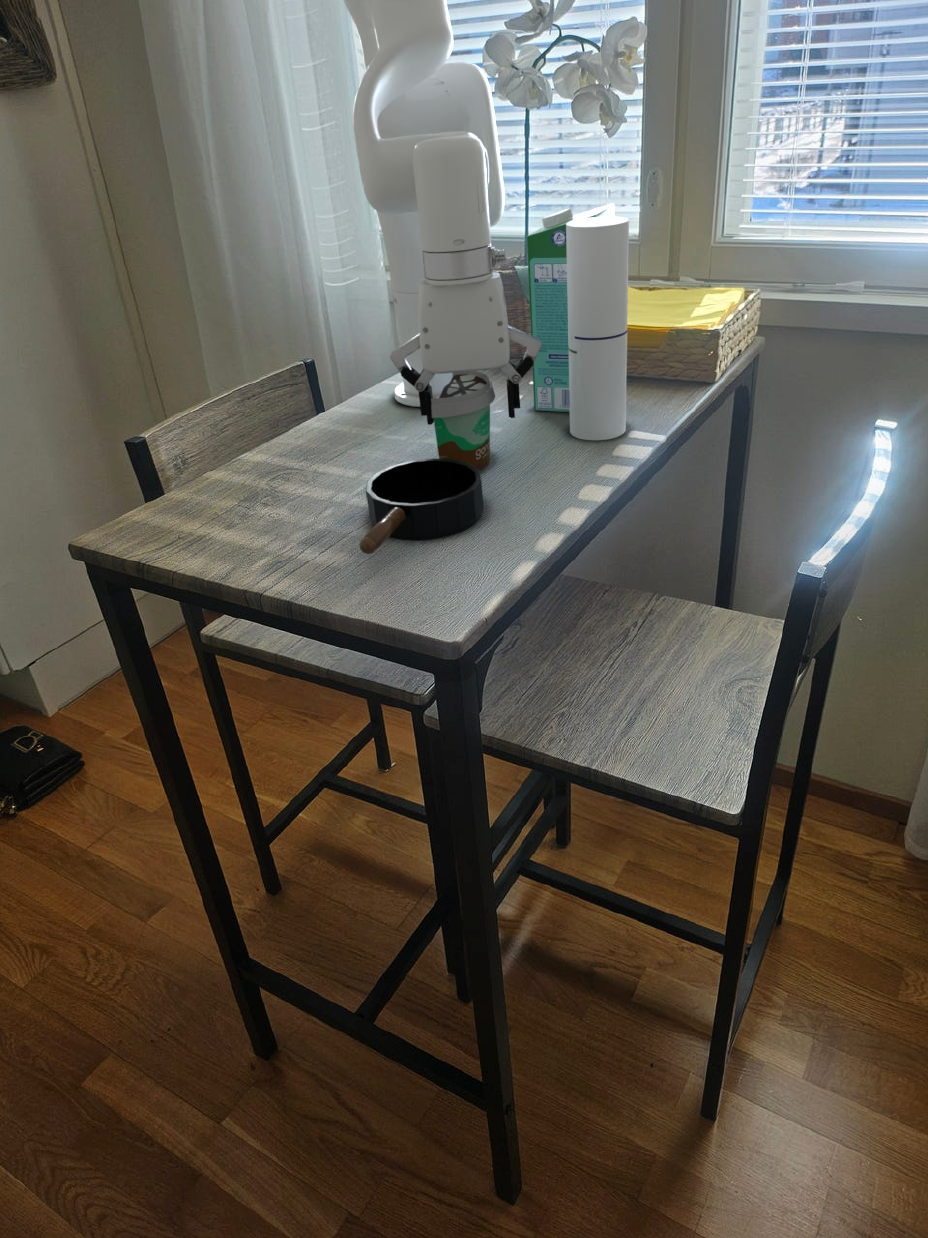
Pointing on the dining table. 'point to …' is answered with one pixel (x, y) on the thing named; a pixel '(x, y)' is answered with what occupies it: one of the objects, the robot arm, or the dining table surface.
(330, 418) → the dining table surface
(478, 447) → the food container
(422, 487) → the pan
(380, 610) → the dining table surface
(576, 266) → the cylindrical container
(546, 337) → the milk carton
